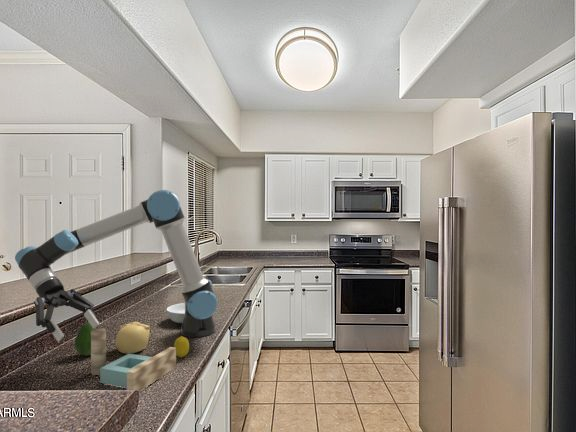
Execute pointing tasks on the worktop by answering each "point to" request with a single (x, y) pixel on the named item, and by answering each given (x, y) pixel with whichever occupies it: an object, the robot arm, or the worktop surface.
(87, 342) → the avocado
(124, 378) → the socket block
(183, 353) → the lemon
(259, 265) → the worktop surface
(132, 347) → the sculpture
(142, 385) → the oak wall
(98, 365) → the dowel
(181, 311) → the serving bowl
